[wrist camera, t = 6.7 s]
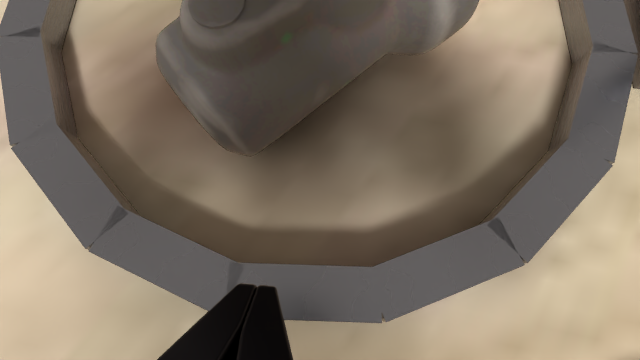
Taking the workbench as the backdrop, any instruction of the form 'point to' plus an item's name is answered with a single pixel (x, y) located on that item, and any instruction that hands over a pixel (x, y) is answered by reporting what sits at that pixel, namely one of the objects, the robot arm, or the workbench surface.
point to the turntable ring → (317, 280)
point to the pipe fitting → (287, 56)
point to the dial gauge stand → (635, 34)
